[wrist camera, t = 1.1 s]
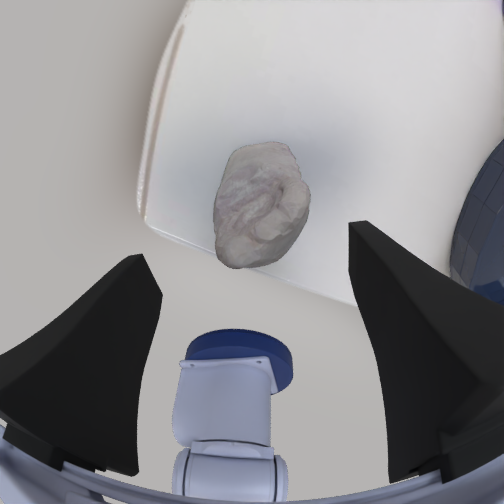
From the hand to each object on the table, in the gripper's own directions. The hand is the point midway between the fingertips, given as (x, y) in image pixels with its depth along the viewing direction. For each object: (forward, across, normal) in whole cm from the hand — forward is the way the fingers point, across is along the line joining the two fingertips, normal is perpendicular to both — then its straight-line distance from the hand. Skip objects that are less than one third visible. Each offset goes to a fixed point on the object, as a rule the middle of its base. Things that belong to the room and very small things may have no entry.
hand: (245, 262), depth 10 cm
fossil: (+10, 0, 0) cm, 10 cm away
